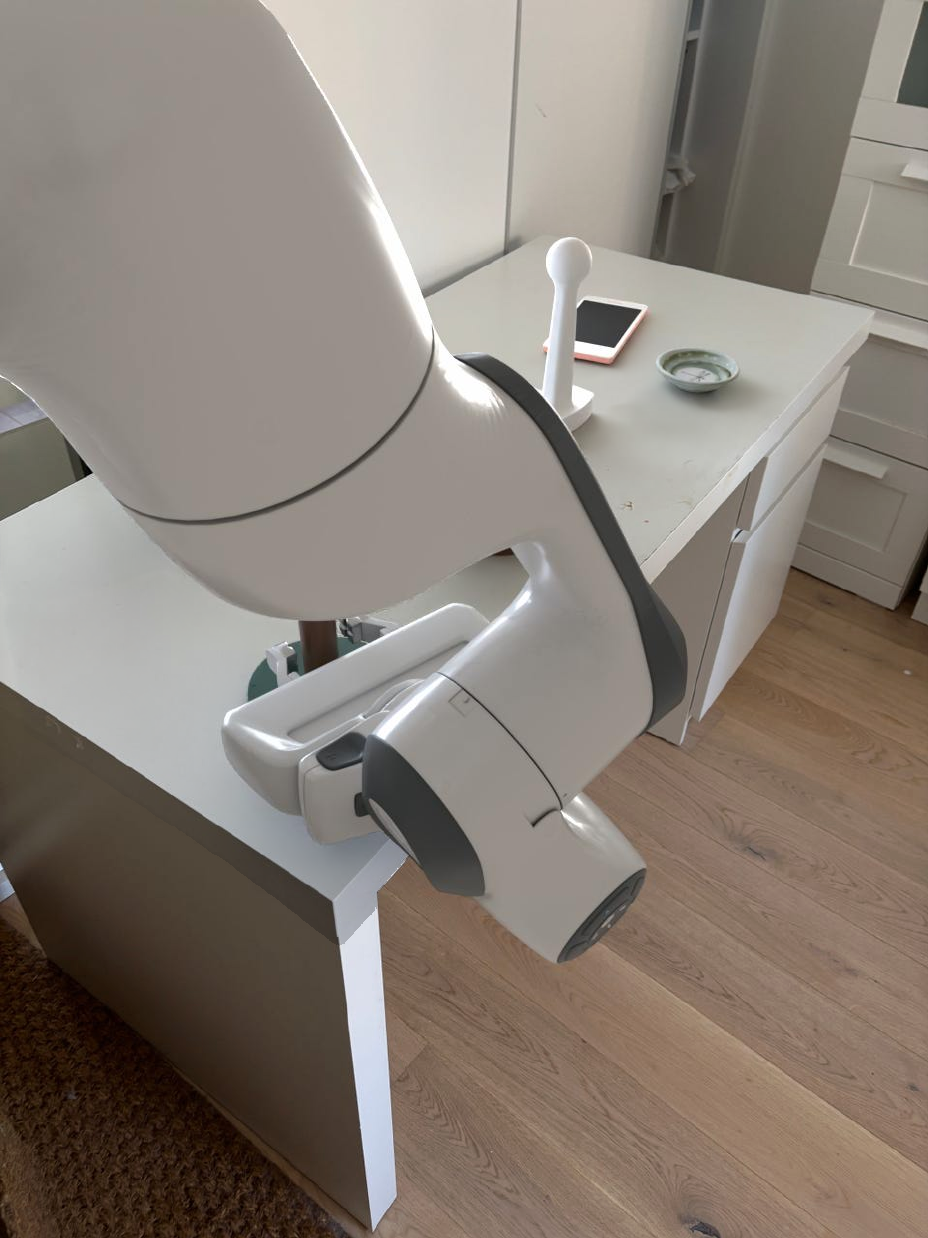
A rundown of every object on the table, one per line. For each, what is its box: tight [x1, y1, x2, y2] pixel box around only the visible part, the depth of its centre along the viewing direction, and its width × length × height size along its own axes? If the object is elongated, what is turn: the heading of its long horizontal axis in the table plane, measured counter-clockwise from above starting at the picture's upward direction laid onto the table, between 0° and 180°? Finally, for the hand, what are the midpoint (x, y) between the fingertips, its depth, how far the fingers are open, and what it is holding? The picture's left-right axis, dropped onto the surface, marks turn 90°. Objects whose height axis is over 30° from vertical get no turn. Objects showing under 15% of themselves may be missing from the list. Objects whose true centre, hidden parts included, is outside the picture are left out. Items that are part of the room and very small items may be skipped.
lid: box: [246, 620, 368, 703], centre depth 70 cm, size 11×11×9 cm
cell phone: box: [542, 294, 649, 365], centre depth 124 cm, size 9×18×1 cm, turn 157°
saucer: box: [655, 346, 741, 393], centre depth 113 cm, size 10×10×2 cm
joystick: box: [538, 236, 595, 433], centre depth 100 cm, size 11×8×20 cm
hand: (311, 635), depth 69 cm, fingers open, 5 cm apart
